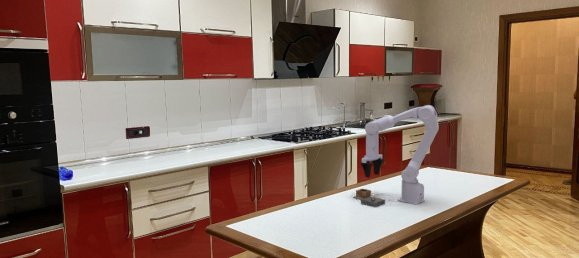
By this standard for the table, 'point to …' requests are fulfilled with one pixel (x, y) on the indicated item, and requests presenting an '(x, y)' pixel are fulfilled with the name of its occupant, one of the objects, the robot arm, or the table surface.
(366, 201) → the vise block
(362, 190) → the brown wooden box
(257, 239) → the table surface
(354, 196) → the mat
